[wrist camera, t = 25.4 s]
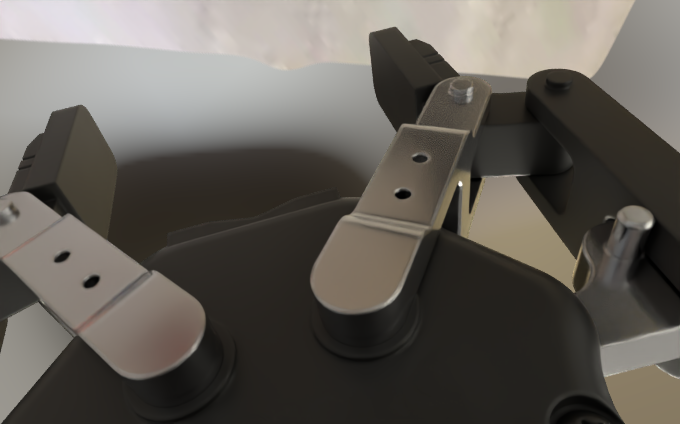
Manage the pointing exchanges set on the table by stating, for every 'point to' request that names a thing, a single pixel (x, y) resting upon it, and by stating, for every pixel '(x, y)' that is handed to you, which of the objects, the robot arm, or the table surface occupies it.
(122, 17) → the table surface
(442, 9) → the table surface
